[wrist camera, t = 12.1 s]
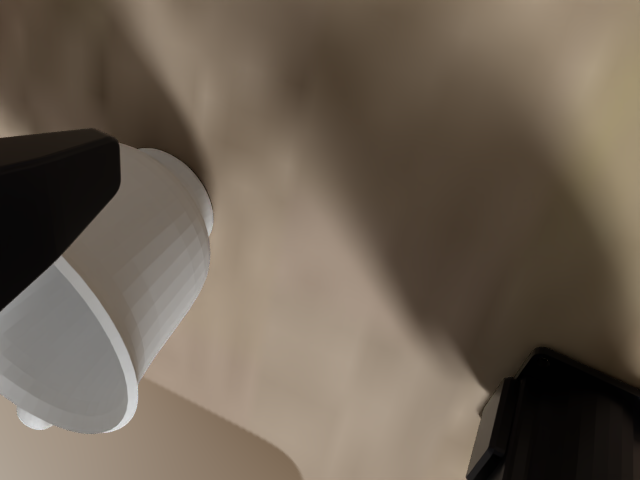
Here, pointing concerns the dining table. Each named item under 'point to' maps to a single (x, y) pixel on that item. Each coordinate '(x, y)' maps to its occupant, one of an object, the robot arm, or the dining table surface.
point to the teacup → (108, 300)
